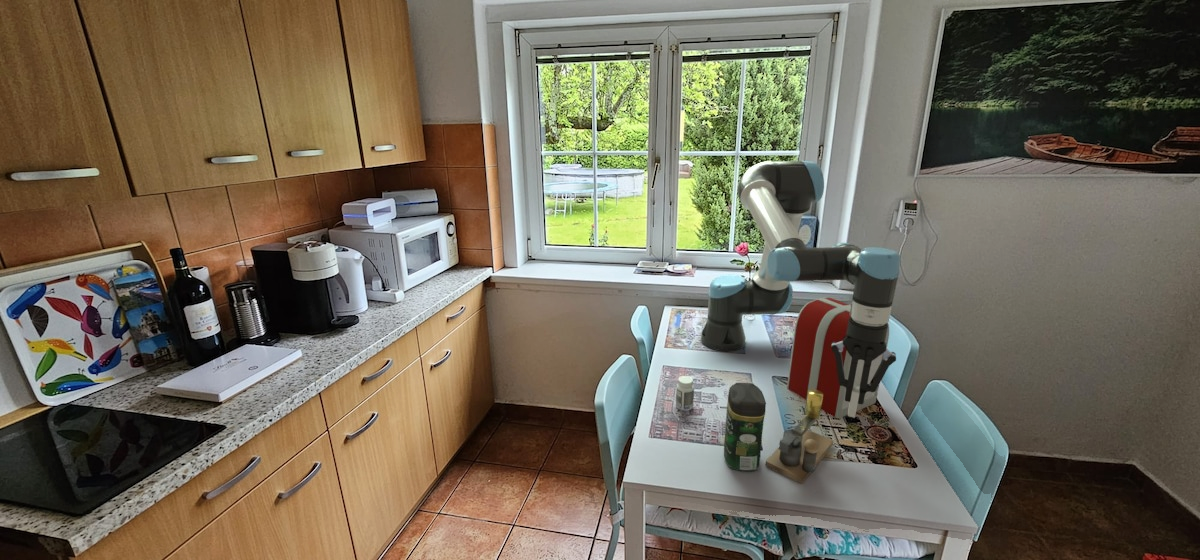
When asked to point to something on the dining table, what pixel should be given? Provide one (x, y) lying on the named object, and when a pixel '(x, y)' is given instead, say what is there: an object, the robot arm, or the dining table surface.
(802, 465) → the wooden board with cylinders
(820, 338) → the red white arched box
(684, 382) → the pill bottle
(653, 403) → the dining table surface
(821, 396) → the lever
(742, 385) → the coffee jar
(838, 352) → the robot arm
